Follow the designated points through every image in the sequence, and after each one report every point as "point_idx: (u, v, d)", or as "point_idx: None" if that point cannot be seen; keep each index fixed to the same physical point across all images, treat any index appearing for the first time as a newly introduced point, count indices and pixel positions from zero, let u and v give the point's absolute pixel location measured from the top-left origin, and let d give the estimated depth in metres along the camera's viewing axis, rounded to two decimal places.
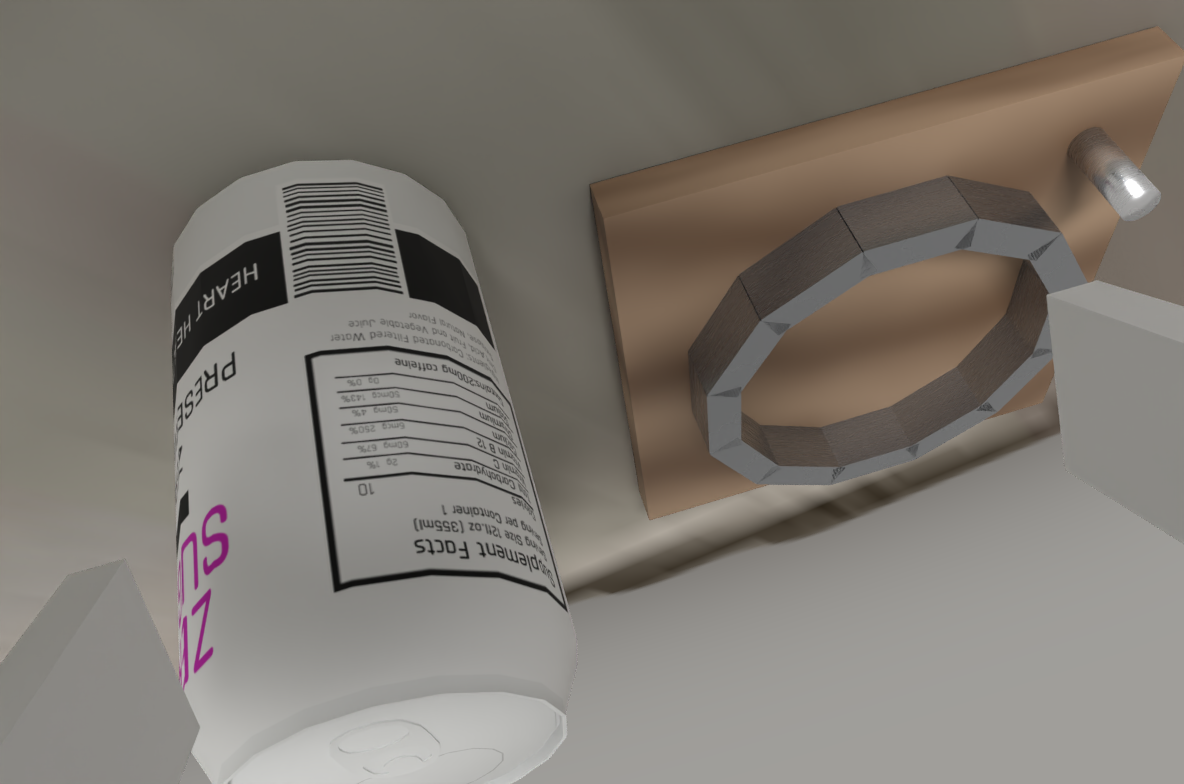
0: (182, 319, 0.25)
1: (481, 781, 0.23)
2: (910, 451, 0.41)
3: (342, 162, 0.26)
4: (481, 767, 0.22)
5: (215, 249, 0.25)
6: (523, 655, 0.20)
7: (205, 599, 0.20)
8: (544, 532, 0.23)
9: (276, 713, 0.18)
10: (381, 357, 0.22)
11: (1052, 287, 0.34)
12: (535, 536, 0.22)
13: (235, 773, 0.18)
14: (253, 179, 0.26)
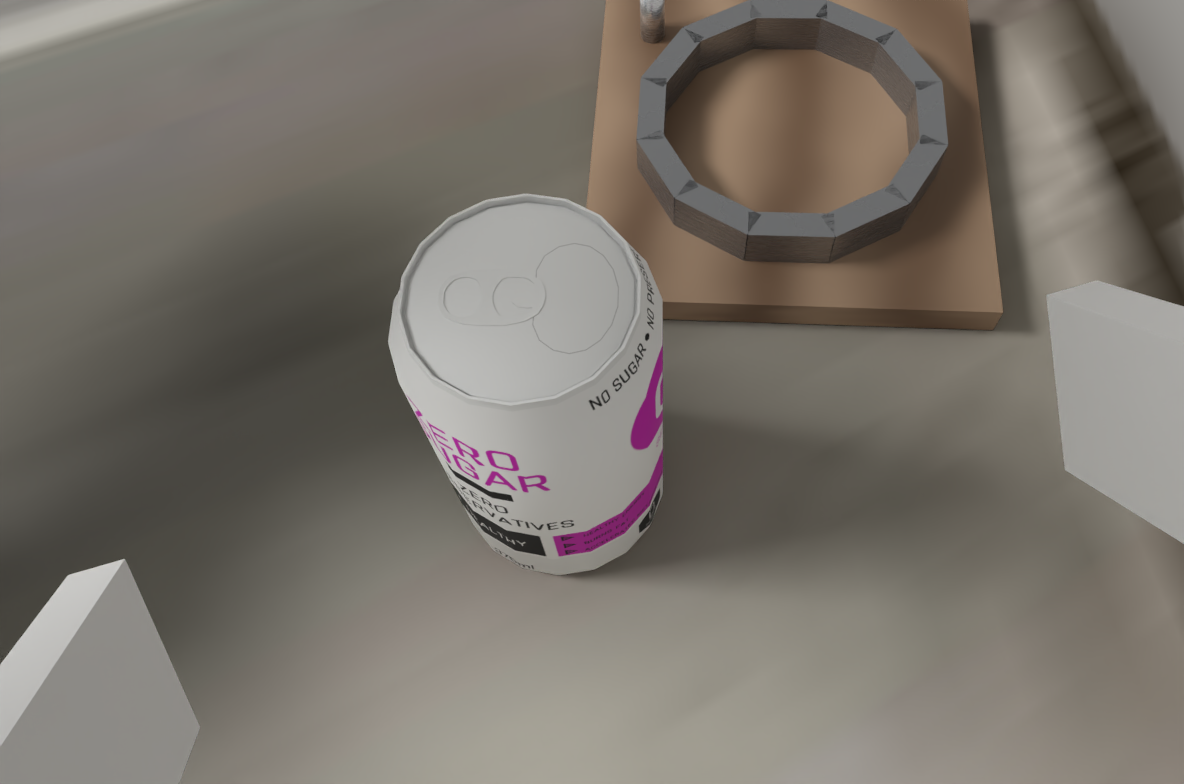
0: (475, 518, 0.38)
1: (620, 267, 0.29)
2: (925, 86, 0.46)
3: None
4: (589, 260, 0.29)
5: None
6: (468, 217, 0.31)
7: (418, 416, 0.31)
8: None
9: (402, 338, 0.29)
10: None
11: (740, 21, 0.48)
12: None
13: (424, 367, 0.28)
14: None
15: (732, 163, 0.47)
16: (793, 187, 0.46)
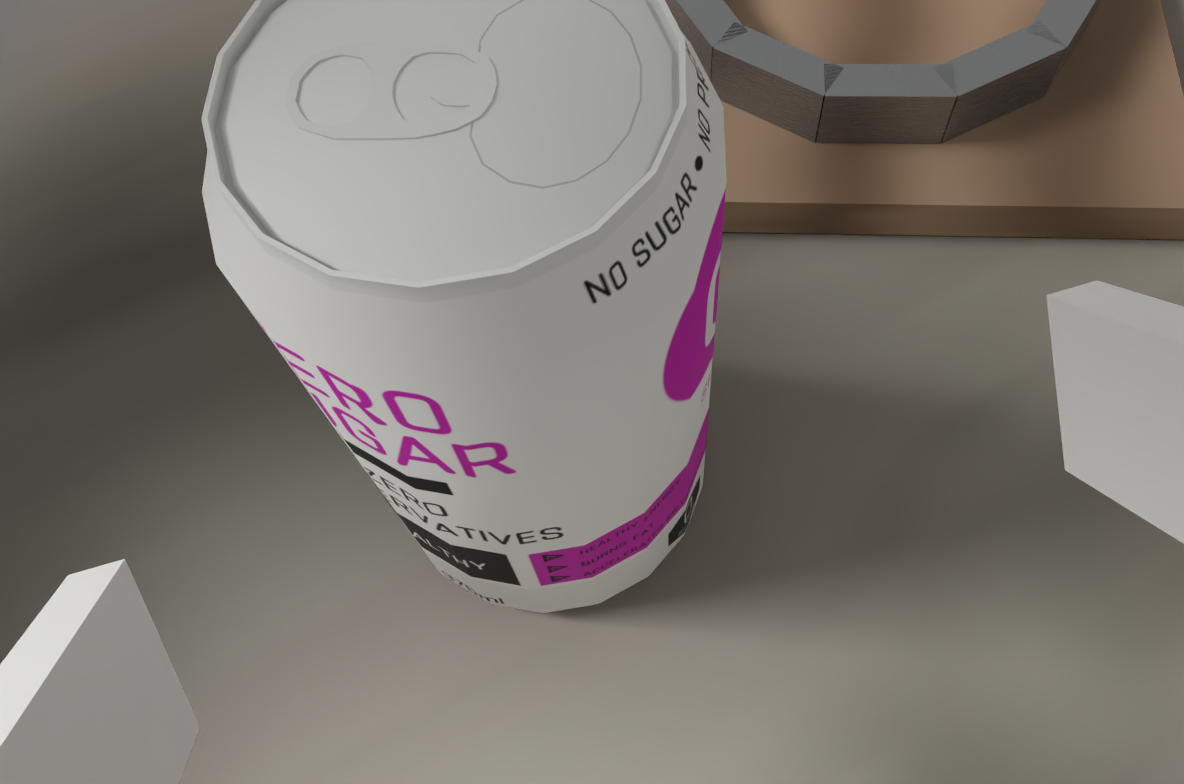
0: (406, 525, 0.24)
1: (643, 30, 0.15)
2: None
3: None
4: (583, 21, 0.15)
5: None
6: None
7: (269, 336, 0.17)
8: None
9: None
10: None
11: None
12: None
13: (246, 217, 0.14)
14: None
15: (792, 12, 0.33)
16: (882, 41, 0.32)
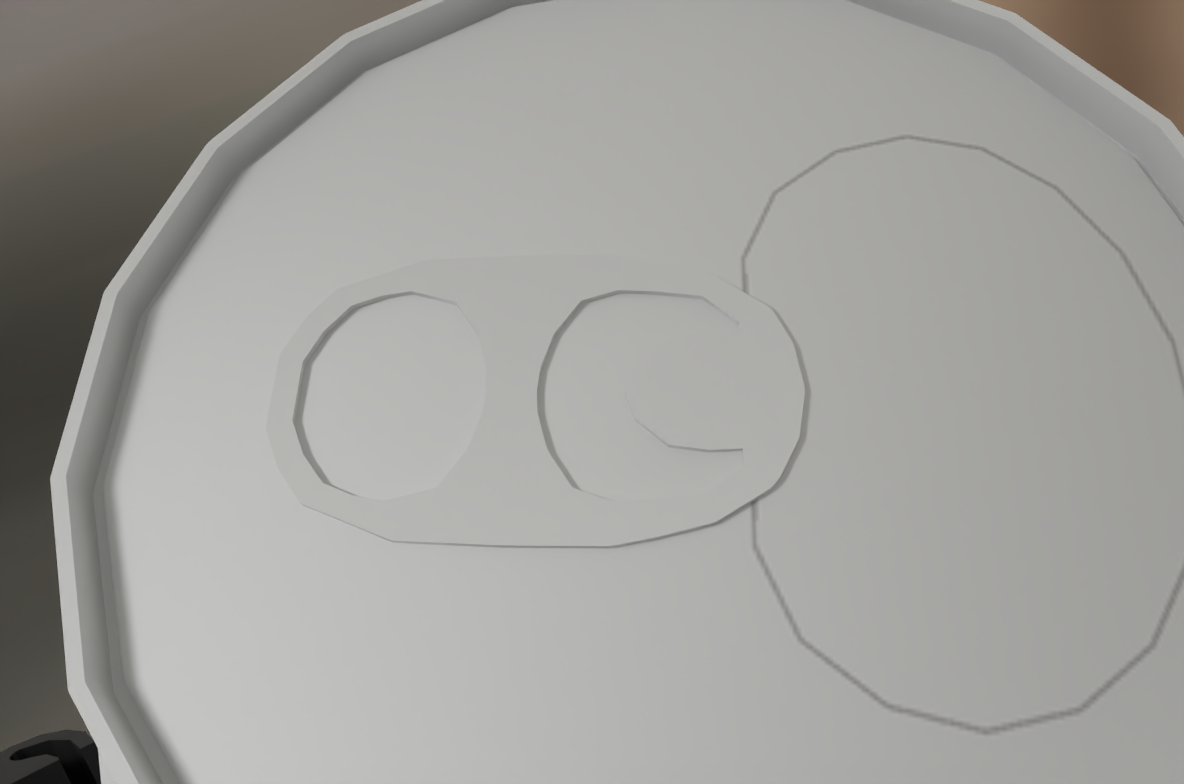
0: None
1: (1153, 241, 0.06)
2: None
3: None
4: (993, 211, 0.06)
5: None
6: None
7: None
8: None
9: None
10: None
11: None
12: None
13: None
14: None
15: None
16: None
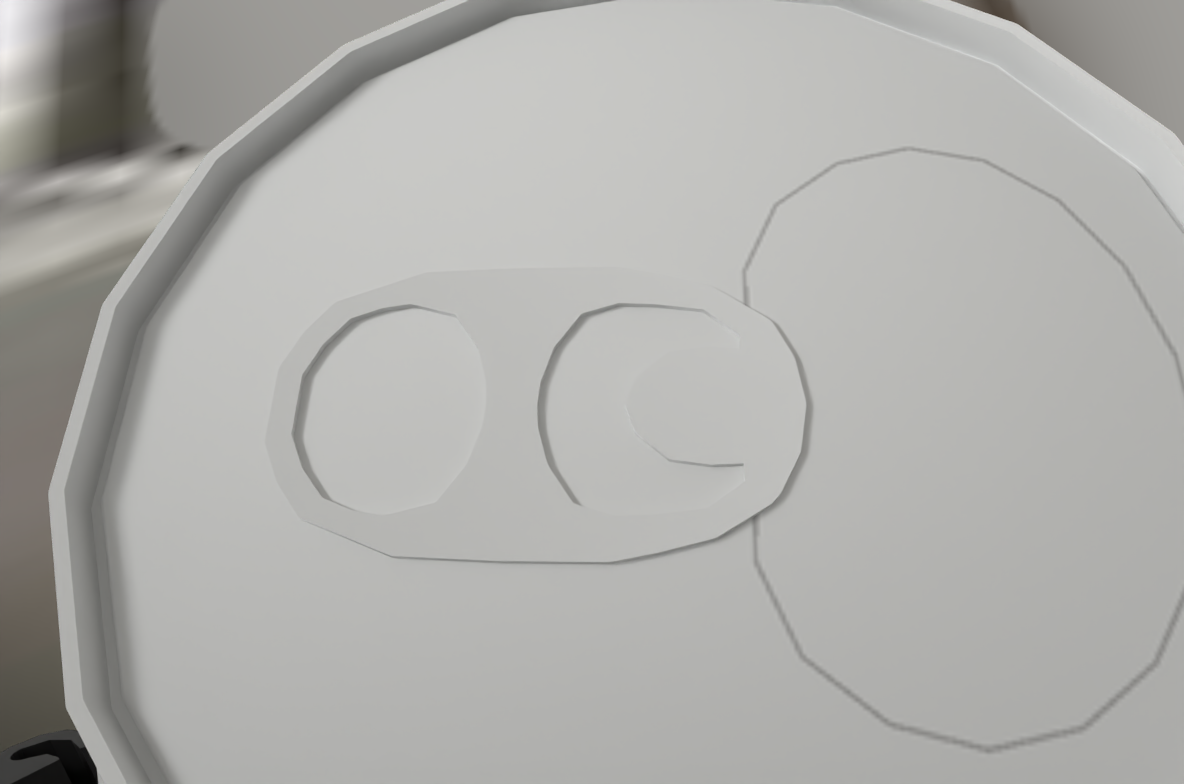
0: None
1: (1156, 254, 0.06)
2: None
3: None
4: (995, 224, 0.06)
5: None
6: None
7: None
8: None
9: None
10: None
11: None
12: None
13: None
14: None
15: None
16: None
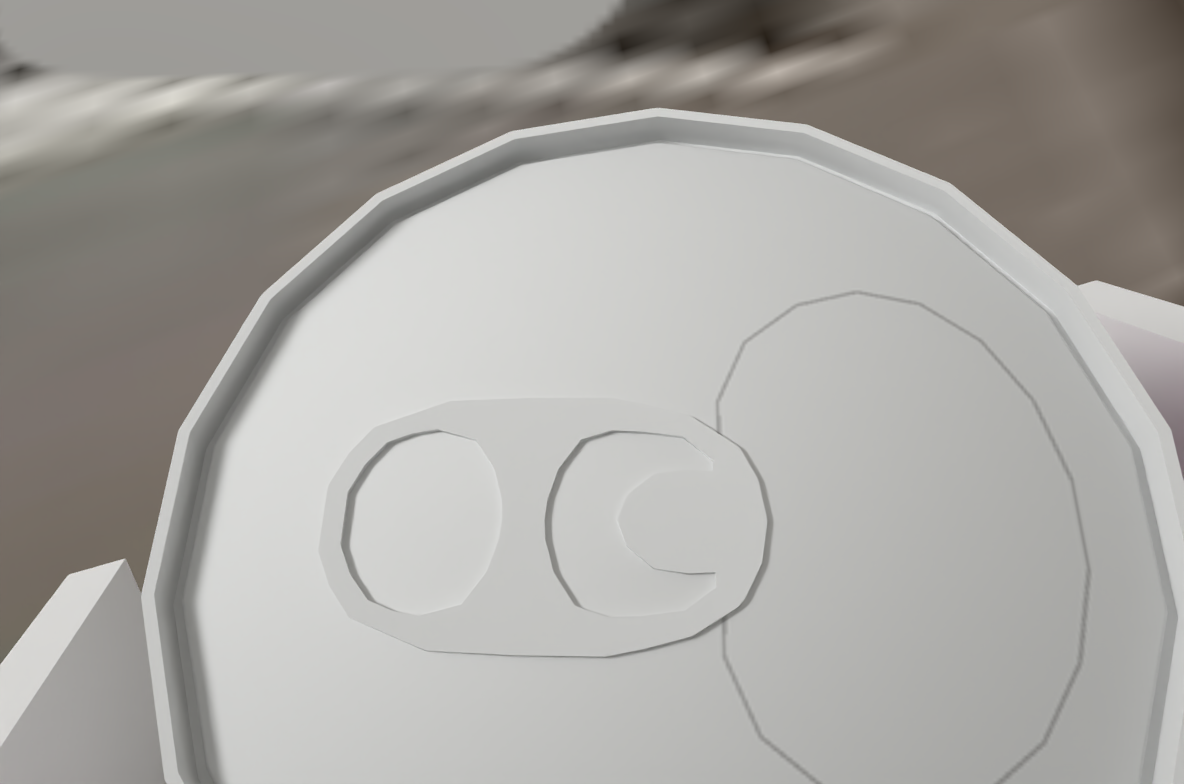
0: None
1: (1060, 390, 0.07)
2: None
3: None
4: (928, 363, 0.07)
5: None
6: None
7: None
8: None
9: None
10: None
11: None
12: None
13: None
14: None
15: None
16: None
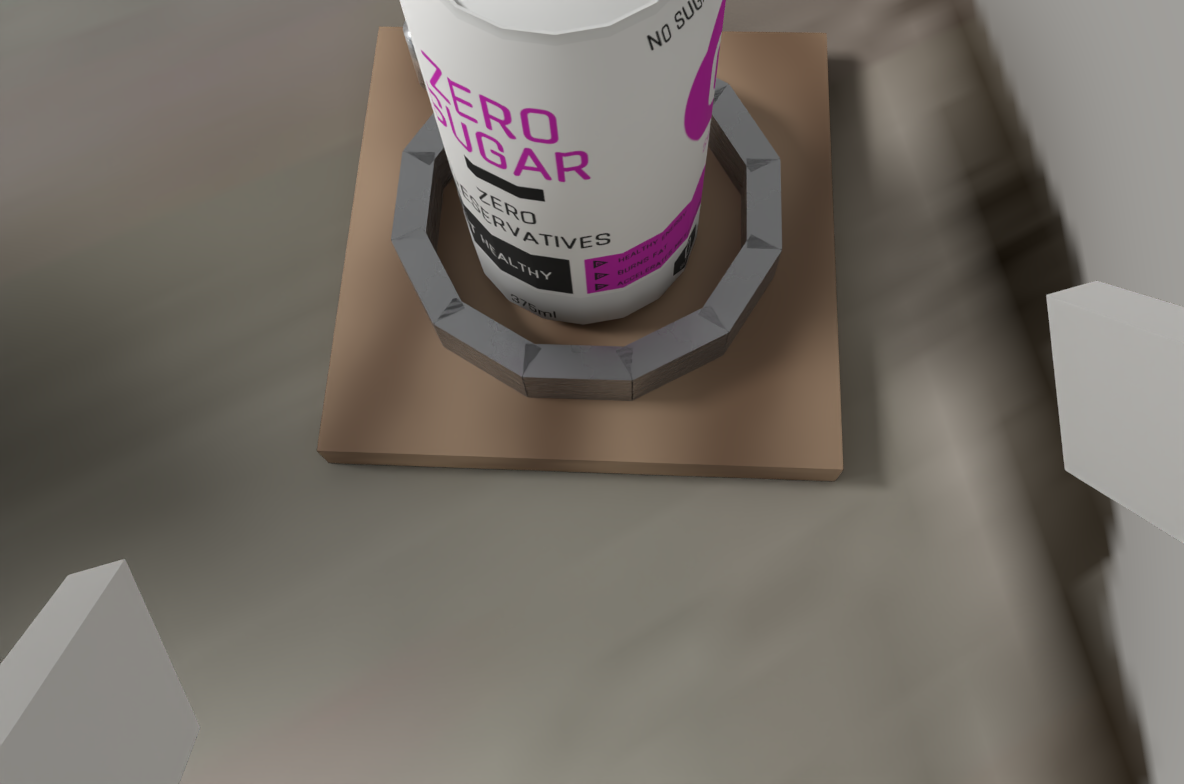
0: (491, 252, 0.33)
1: None
2: (758, 166, 0.36)
3: None
4: None
5: (472, 234, 0.35)
6: None
7: (434, 86, 0.26)
8: None
9: None
10: None
11: None
12: None
13: None
14: None
15: None
16: None
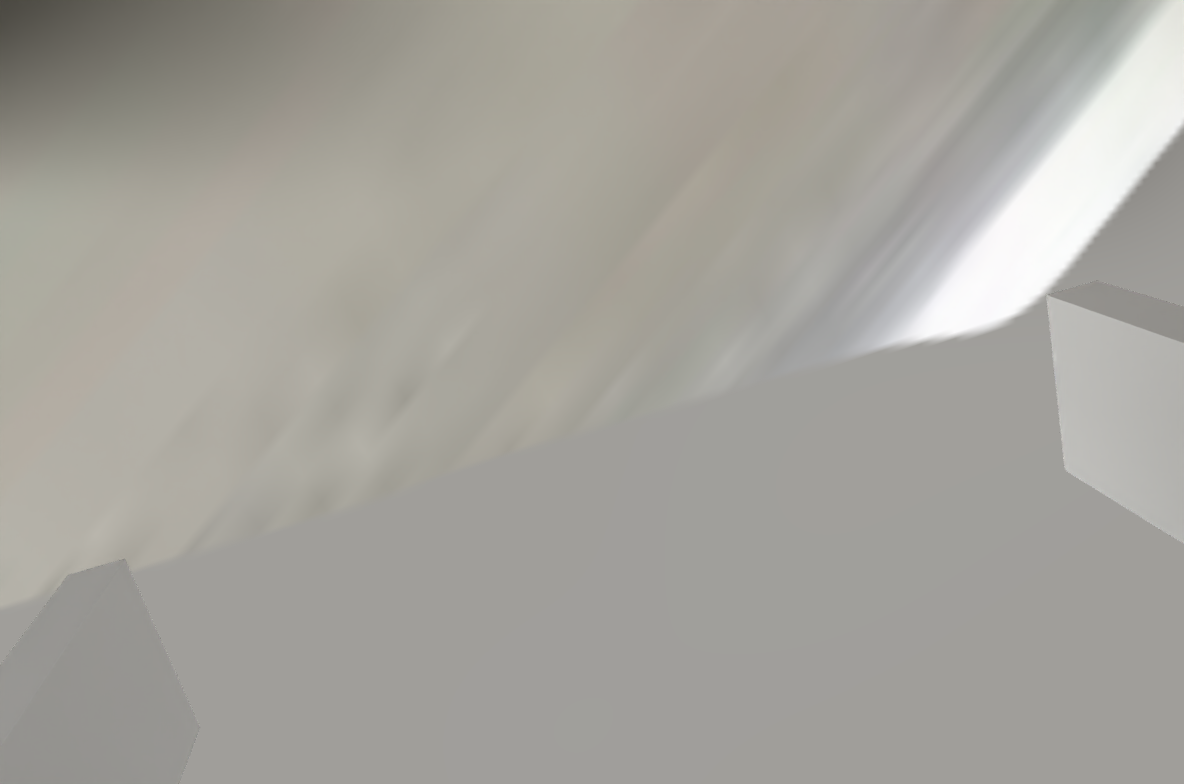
0: None
1: None
2: None
3: None
4: None
5: None
6: None
7: None
8: None
9: None
10: None
11: None
12: None
13: None
14: None
15: None
16: None
